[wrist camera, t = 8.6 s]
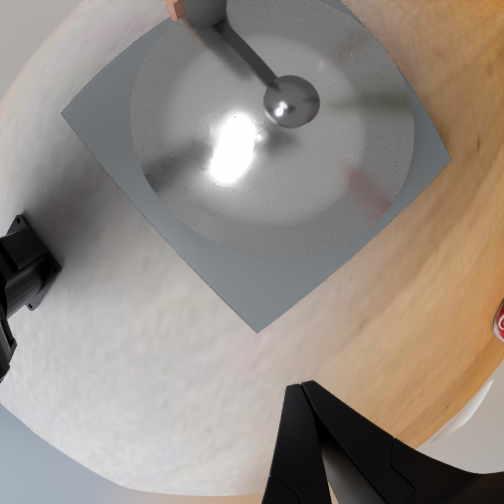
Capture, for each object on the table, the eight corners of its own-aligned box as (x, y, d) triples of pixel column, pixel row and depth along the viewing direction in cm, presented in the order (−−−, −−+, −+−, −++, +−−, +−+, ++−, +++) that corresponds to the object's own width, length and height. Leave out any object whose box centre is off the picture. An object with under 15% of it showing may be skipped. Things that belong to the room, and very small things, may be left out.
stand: (254, 323, 21) (262, 357, 17) (70, 116, 15) (38, 106, 11) (440, 159, 19) (475, 161, 15) (288, -29, 13) (300, -58, 9)
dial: (431, 157, 17) (491, 159, 11) (254, 300, 19) (269, 357, 13) (296, -22, 12) (320, -70, 6) (91, 99, 14) (39, 73, 7)
